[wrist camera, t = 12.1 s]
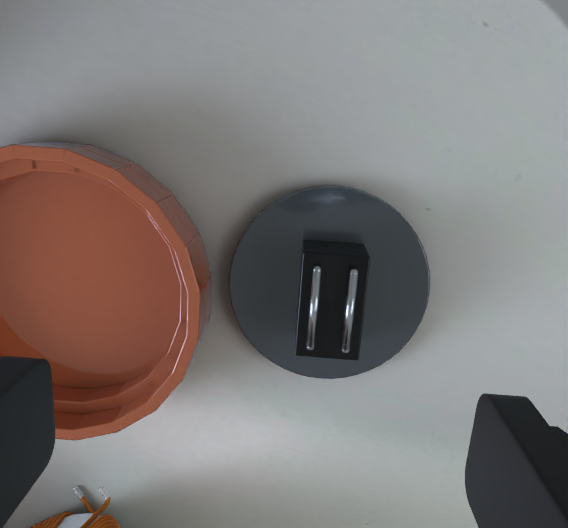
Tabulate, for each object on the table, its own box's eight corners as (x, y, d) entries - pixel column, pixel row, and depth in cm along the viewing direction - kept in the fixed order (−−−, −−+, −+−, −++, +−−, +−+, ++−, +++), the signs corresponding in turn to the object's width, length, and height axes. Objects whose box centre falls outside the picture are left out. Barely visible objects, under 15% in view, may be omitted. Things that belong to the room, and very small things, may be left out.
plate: (235, 177, 26) (233, 179, 26) (440, 193, 26) (444, 195, 25) (226, 364, 29) (224, 370, 28) (412, 379, 29) (415, 387, 28)
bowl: (-70, 131, 26) (-126, 133, 23) (217, 153, 26) (204, 158, 23) (-44, 391, 30) (-88, 426, 27) (208, 413, 30) (195, 451, 26)
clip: (303, 239, 26) (302, 254, 23) (364, 243, 26) (372, 260, 23) (295, 334, 28) (293, 360, 25) (354, 339, 27) (359, 365, 25)
